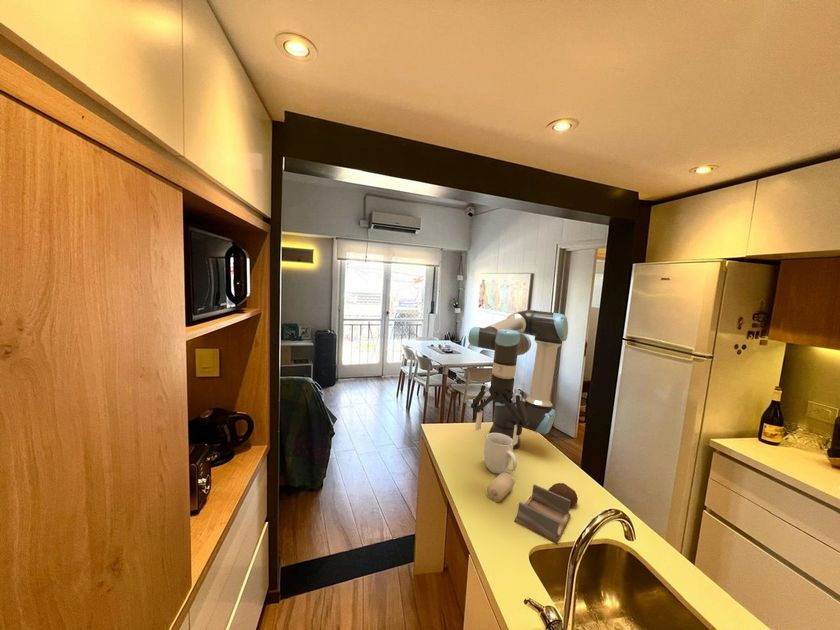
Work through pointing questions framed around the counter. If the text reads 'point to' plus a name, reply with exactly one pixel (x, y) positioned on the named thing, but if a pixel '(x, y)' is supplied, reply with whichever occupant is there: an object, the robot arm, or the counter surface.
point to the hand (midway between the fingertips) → (495, 436)
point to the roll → (500, 487)
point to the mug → (499, 453)
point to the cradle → (544, 513)
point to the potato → (565, 492)
